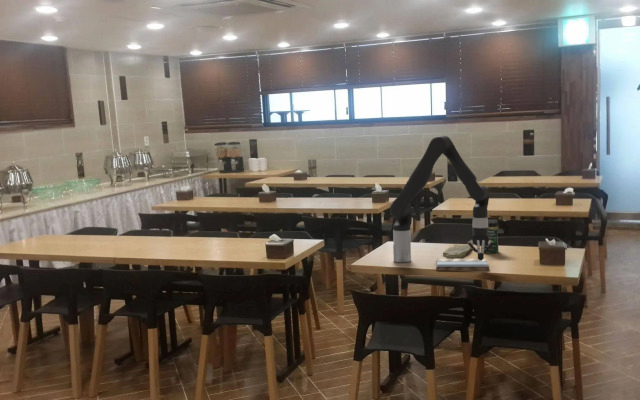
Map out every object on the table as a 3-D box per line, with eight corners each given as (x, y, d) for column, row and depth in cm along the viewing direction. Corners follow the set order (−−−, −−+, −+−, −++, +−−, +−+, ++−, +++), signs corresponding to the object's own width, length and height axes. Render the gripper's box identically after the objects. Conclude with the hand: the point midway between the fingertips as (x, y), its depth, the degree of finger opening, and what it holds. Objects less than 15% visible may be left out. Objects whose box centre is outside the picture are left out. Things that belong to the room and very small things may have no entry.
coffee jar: (481, 253, 345) (480, 220, 343) (480, 250, 353) (480, 218, 351) (499, 253, 343) (498, 220, 341) (498, 250, 351) (498, 218, 348)
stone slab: (440, 253, 339) (454, 240, 365) (440, 260, 339) (454, 247, 365) (462, 254, 333) (475, 241, 359) (462, 261, 333) (475, 248, 360)
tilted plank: (437, 266, 311) (437, 264, 311) (437, 263, 319) (437, 261, 319) (488, 266, 307) (488, 264, 307) (486, 263, 314) (486, 261, 314)
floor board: (436, 270, 311) (436, 265, 311) (436, 263, 326) (435, 258, 326) (489, 270, 306) (489, 265, 306) (486, 263, 321) (486, 258, 321)
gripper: (467, 227, 304) (467, 261, 306) (494, 227, 301) (495, 261, 303) (466, 225, 311) (466, 258, 313) (493, 224, 309) (493, 258, 311)
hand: (480, 260), depth 308 cm, fingers closed
